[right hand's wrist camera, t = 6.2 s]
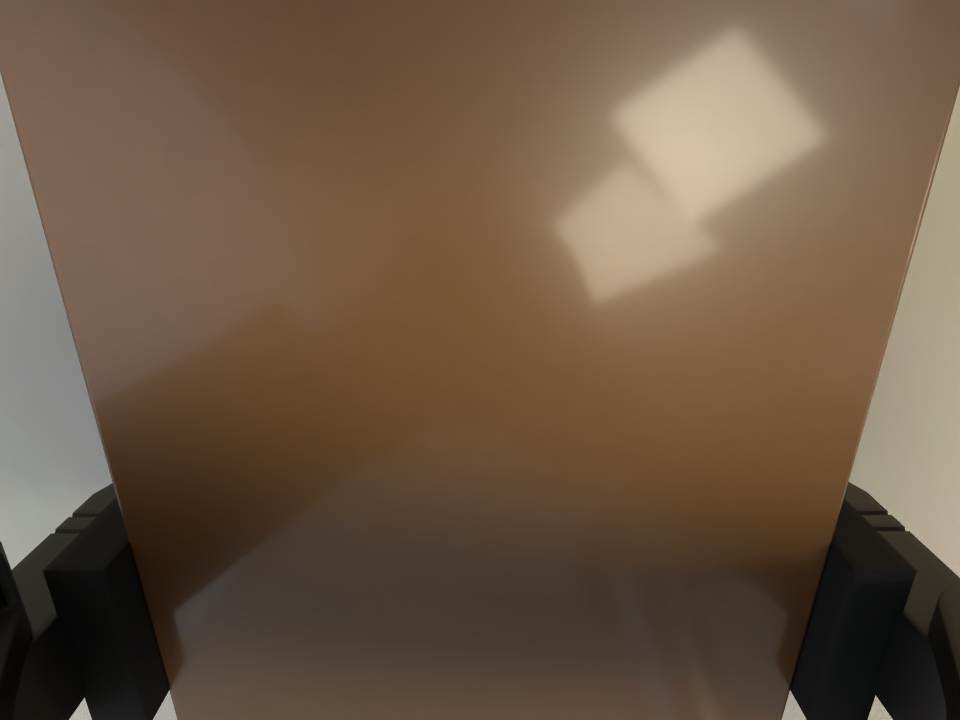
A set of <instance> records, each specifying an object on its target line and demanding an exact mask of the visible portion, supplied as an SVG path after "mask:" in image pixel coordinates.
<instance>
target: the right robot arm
mask: <svg viewBox="0 0 960 720" xmlns="http://www.w3.org/2000/svg"><path fill="white" fill-rule="evenodd" d="M55 530H56V532H55V534H50V535H49V536H48V537H47V538H46V539H45V540H44V541H43V542H41V543H40V544H39V545H38V546H37V547H36V548H35V549H34V550H33V551H32V552H31V553H30V554H29V555H27V556H26V557H25V558H24V559H23V560H22V561H21V562H20V563H19V564H18V565H17V566H16V567H15V568H14V569H12V570H11V568H10V565H9V562H8V560H7V557H6V554H5V551H4V548H3V546H2V543H1V542H0V720H69V719H70V717H71V716H72V714H73V713H74V711H75V710H76V709H77V707H78V706H79V704H80V703H81V701H82V700H83V699H84V697H85V699H86V702H87V705H88V708H89V711H90V714H91V717H92V720H153V718H154V716H155V715H156V713H157V711H158V709H159V707H160V706H161V704H162V702H163V700H164V698H165V697H166V695H167V693H168V691H169V686H168V682H167V679H166V675H165V671H164V668H163V664H162V660H161V657H160V653H159V649H158V646H157V642H156V638H155V635H154V631H153V627H152V624H151V620H150V616H149V613H148V609H147V605H146V602H145V598H144V595H143V591H142V587H141V584H140V580H139V576H138V573H137V569H136V565H135V562H134V558H133V554H132V551H131V547H130V543H129V540H128V536H127V532H126V529H125V525H124V521H123V518H122V514H121V510H120V507H119V503H118V499H117V496H116V492H115V489H114V485H113V483H112V484H111V485H109V486H107V487H105V488H104V489H102V490H100V491H98V492H97V493H95V494H93V495H92V496H91V497H90V498H89V499H88V500H87V501H86V502H84V503H83V504H82V505H81V506H80V507H79V508H78V509H77V510H76V511H75V512H74V513H73V516H72V517H68V518H67V519H66V520H65V521H64V522H63V523H62V524H61V525H60V526H59V527H58V528H57V529H55ZM790 690H791V692H792V694H793V696H794V697H795V699H796V701H797V703H798V704H799V706H800V708H801V710H802V712H803V713H804V715H805V717H806V719H807V720H867V719H868V716H869V713H870V710H871V707H872V704H873V701H874V698H875V695H876V696H877V697H878V699H879V700H880V702H881V703H882V704H883V706H884V707H885V709H886V710H887V712H888V713H889V714H890V716H891V717H892V719H893V720H960V578H959V577H958V576H957V575H956V574H955V573H954V572H953V571H952V570H951V569H949V568H948V567H947V566H946V565H945V564H944V563H943V562H942V561H941V560H940V559H939V558H938V557H936V556H935V555H934V554H933V553H932V552H931V551H930V550H929V549H928V548H927V547H926V546H925V545H923V544H922V543H921V542H920V541H919V540H918V539H917V538H916V537H915V536H914V535H913V534H912V533H910V532H909V531H905V527H904V526H903V525H902V524H901V523H900V522H899V521H897V520H896V519H895V518H894V517H893V516H892V515H888V513H887V510H886V509H885V508H883V507H882V506H881V505H880V504H879V503H878V502H877V501H876V500H875V499H874V498H873V497H872V496H870V495H869V494H868V493H867V492H866V491H864V490H862V489H860V488H858V487H857V486H855V485H853V484H851V483H850V482H848V485H847V488H846V492H845V495H844V499H843V502H842V506H841V509H840V513H839V517H838V520H837V524H836V527H835V531H834V534H833V538H832V541H831V545H830V549H829V552H828V556H827V559H826V563H825V566H824V570H823V573H822V577H821V581H820V584H819V588H818V591H817V595H816V598H815V602H814V606H813V609H812V613H811V616H810V620H809V623H808V627H807V630H806V634H805V638H804V641H803V645H802V648H801V652H800V655H799V659H798V662H797V666H796V670H795V673H794V677H793V680H792V684H791V687H790Z"/></svg>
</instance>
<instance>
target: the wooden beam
mask: <svg viewBox="0 0 960 720" xmlns="http://www.w3.org/2000/svg"><path fill="white" fill-rule="evenodd" d="M0 72H1V76H2V79H3V83H4V86H5V90H6V94H7V97H8V101H9V105H10V108H11V112H12V116H13V119H14V123H15V127H16V130H17V134H18V138H19V141H20V145H21V149H22V152H23V156H24V160H25V163H26V167H27V171H28V174H29V178H30V182H31V185H32V189H33V192H34V196H35V200H36V203H37V207H38V211H39V214H40V218H41V222H42V225H43V229H44V233H45V236H46V240H47V244H48V247H49V251H50V255H51V258H52V262H53V266H54V269H55V273H56V277H57V280H58V284H59V287H60V291H61V295H62V298H63V302H64V306H65V309H66V313H67V317H68V320H69V324H70V328H71V331H72V335H73V339H74V342H75V346H76V350H77V353H78V357H79V361H80V364H81V368H82V372H83V375H84V379H85V383H86V386H87V390H88V393H89V397H90V401H91V404H92V408H93V412H94V415H95V419H96V423H97V426H98V430H99V434H100V437H101V441H102V445H103V448H104V452H105V456H106V459H107V463H108V467H109V470H110V474H111V478H112V481H113V485H114V489H115V492H116V496H117V499H118V503H119V507H120V510H121V514H122V518H123V521H124V525H125V529H126V532H127V536H128V540H129V543H130V547H131V551H132V554H133V558H134V562H135V565H136V569H137V573H138V576H139V580H140V584H141V587H142V591H143V595H144V598H145V602H146V605H147V609H148V613H149V616H150V620H151V624H152V627H153V631H154V635H155V638H156V642H157V646H158V649H159V653H160V657H161V660H162V664H163V668H164V671H165V675H166V679H167V682H168V686H169V690H170V693H171V697H172V701H173V704H174V708H175V711H176V715H177V719H178V720H781V719H782V716H783V712H784V709H785V705H786V702H787V698H788V694H789V691H790V687H791V684H792V680H793V677H794V673H795V670H796V666H797V662H798V659H799V655H800V652H801V648H802V645H803V641H804V638H805V634H806V630H807V627H808V623H809V620H810V616H811V613H812V609H813V606H814V602H815V598H816V595H817V591H818V588H819V584H820V581H821V577H822V573H823V570H824V566H825V563H826V559H827V556H828V552H829V549H830V545H831V541H832V538H833V534H834V531H835V527H836V524H837V520H838V517H839V513H840V509H841V506H842V502H843V499H844V495H845V492H846V488H847V485H848V481H849V477H850V474H851V470H852V467H853V463H854V460H855V456H856V452H857V449H858V445H859V442H860V438H861V435H862V431H863V428H864V424H865V420H866V417H867V413H868V410H869V406H870V403H871V399H872V396H873V392H874V388H875V385H876V381H877V378H878V374H879V371H880V367H881V364H882V360H883V356H884V353H885V349H886V346H887V342H888V339H889V335H890V331H891V328H892V324H893V321H894V317H895V314H896V310H897V307H898V303H899V299H900V296H901V292H902V289H903V285H904V282H905V278H906V275H907V271H908V267H909V264H910V260H911V257H912V253H913V250H914V246H915V243H916V239H917V235H918V232H919V228H920V225H921V221H922V218H923V214H924V210H925V207H926V203H927V200H928V196H929V193H930V189H931V186H932V182H933V178H934V175H935V171H936V168H937V164H938V161H939V157H940V154H941V150H942V146H943V143H944V139H945V136H946V132H947V129H948V125H949V122H950V118H951V114H952V111H953V107H954V104H955V100H956V97H957V93H958V90H959V86H960V0H0Z"/></svg>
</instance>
